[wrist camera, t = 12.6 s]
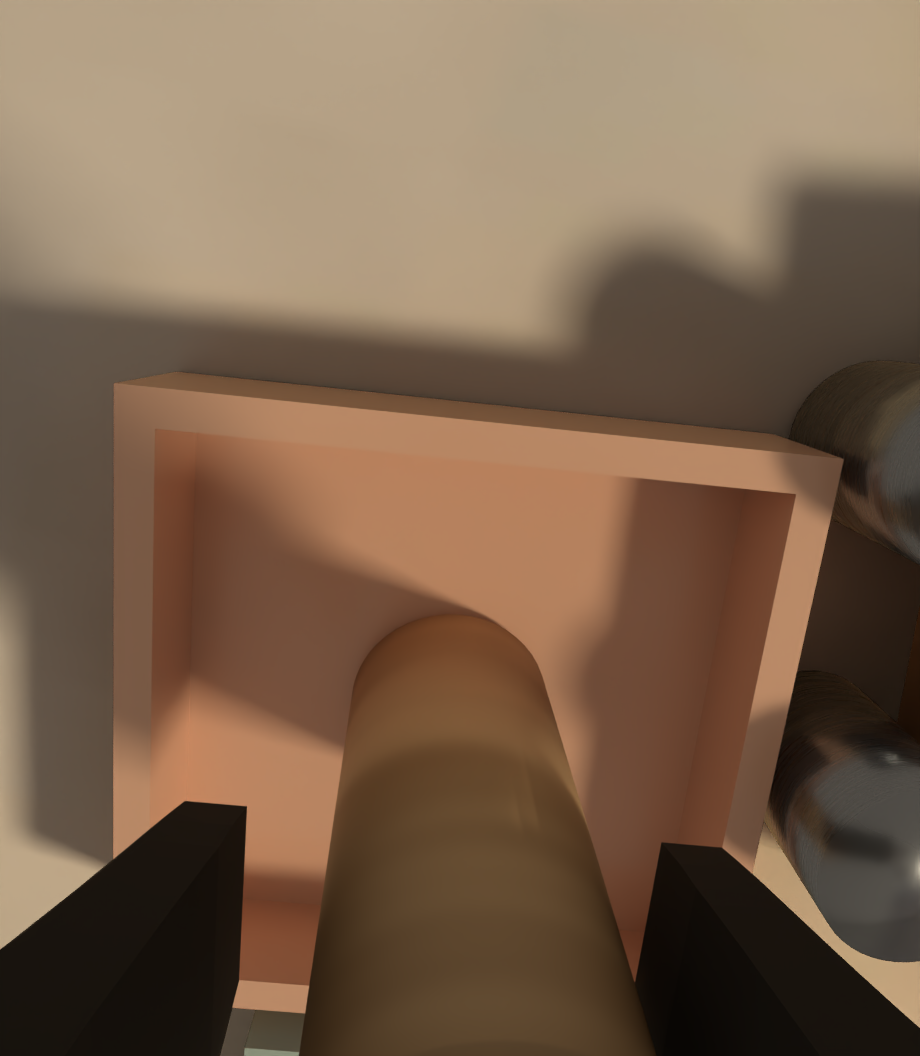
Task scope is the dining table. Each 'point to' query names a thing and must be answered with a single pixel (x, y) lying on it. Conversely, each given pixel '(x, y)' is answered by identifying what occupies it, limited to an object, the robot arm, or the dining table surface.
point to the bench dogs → (843, 709)
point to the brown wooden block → (912, 690)
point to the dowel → (463, 868)
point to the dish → (447, 589)
